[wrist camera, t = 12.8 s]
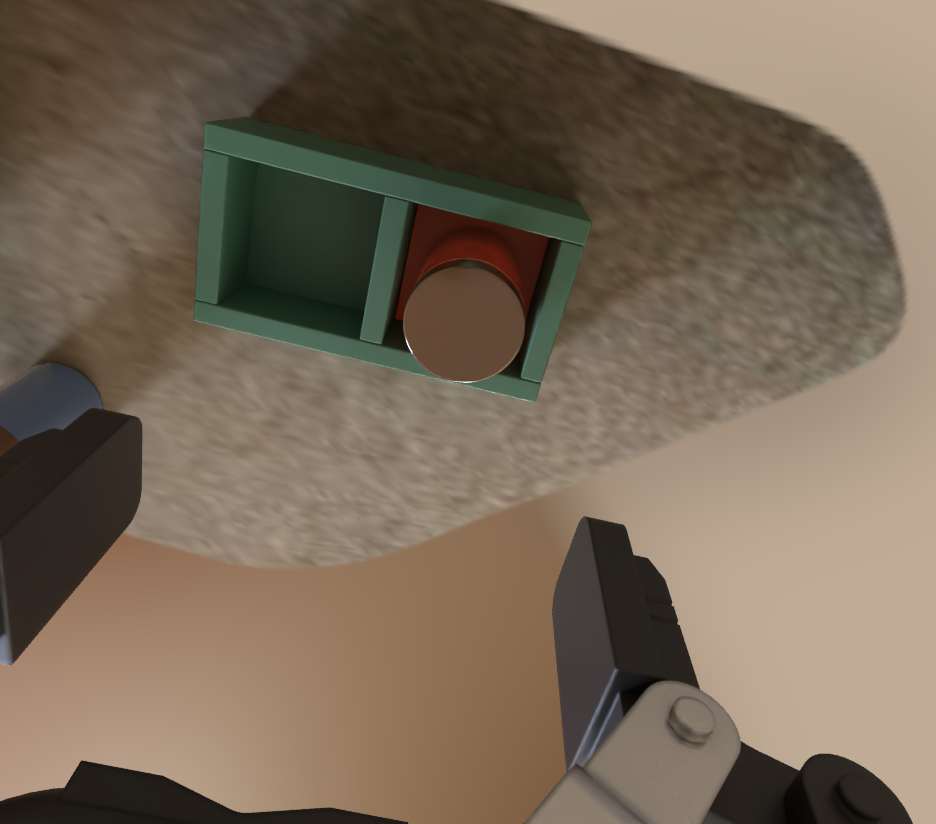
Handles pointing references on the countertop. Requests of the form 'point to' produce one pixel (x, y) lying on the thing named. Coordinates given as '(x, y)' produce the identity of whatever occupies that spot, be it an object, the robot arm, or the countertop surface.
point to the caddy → (362, 245)
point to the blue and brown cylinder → (43, 401)
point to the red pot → (466, 307)
